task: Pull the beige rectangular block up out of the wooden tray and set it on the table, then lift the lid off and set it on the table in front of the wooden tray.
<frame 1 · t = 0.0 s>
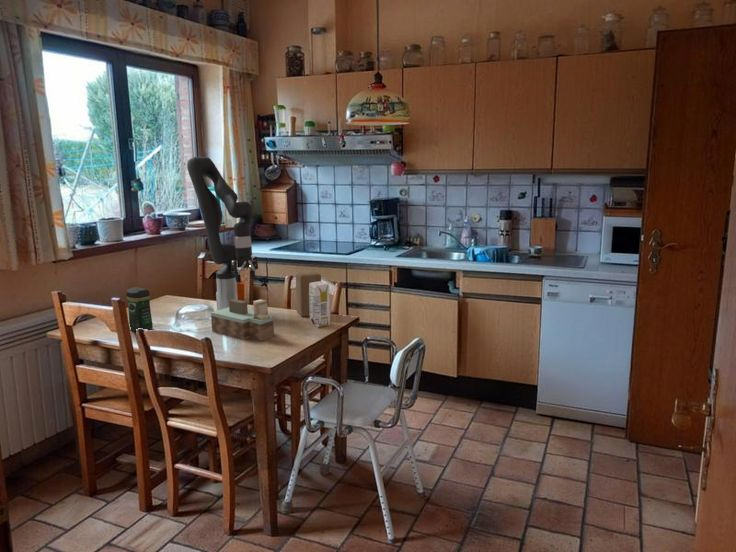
hand: (245, 280, 262), 17 cm above the table, tool pointing down, fingers open, 8 cm apart
lid: (238, 315, 242), point 7 cm above the table, touching wooden tray
coffee jar: (141, 329, 247), on the table
juice carton: (320, 325, 252), on the table
wooden block: (309, 314, 270), on the table
beige rectangular block: (261, 326, 235), point 4 cm above the table, touching wooden tray
wooden tray: (239, 331, 243), on the table
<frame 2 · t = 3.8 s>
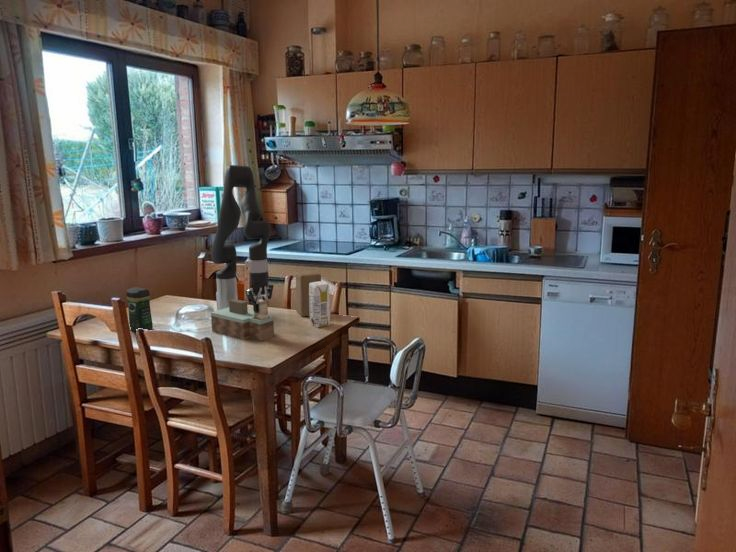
hand: (260, 311, 233), 11 cm above the table, tool pointing down, fingers closed on beige rectangular block, 4 cm apart
beige rectangular block: (261, 326, 235), point 5 cm above the table, touching gripper, wooden tray
everything else where it was.
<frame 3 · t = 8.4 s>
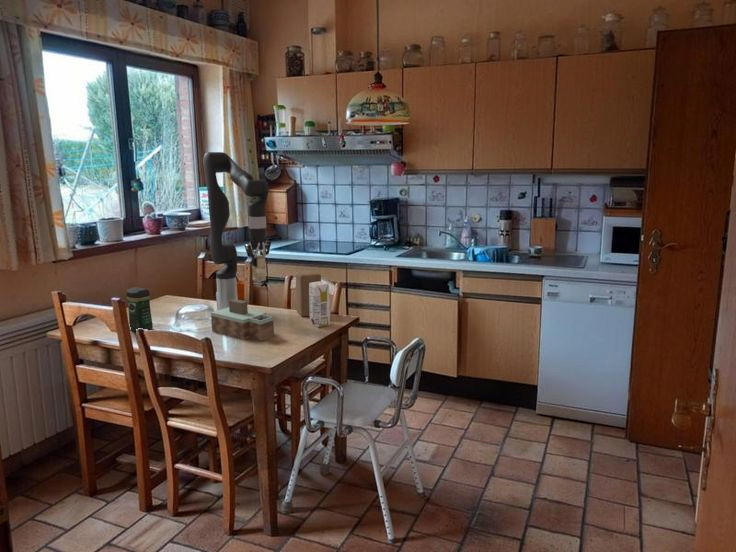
hand: (258, 265, 249), 27 cm above the table, tool pointing down, fingers closed on beige rectangular block, 4 cm apart
beige rectangular block: (259, 280, 251), point 20 cm above the table, touching gripper
everything else where it was.
when the fingers open (7 cm above the table, at t = 12.8 s): beige rectangular block stays where it is, on the table.
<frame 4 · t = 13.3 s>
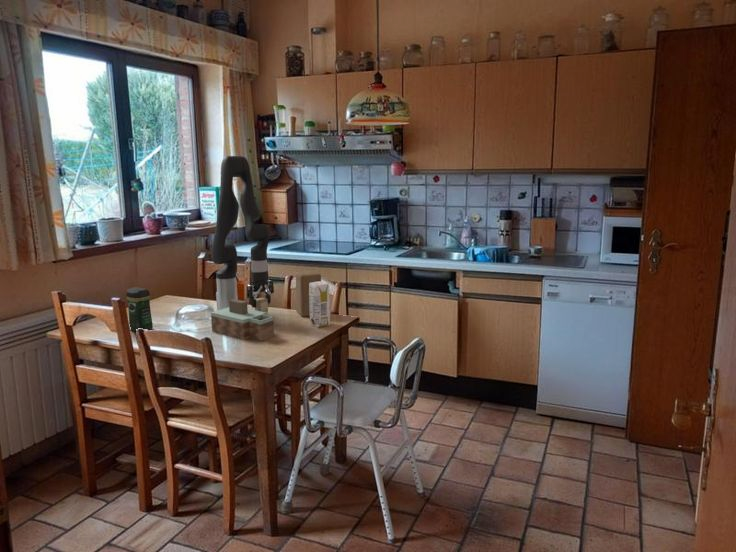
hand: (261, 305, 255), 8 cm above the table, tool pointing down, fingers open, 8 cm apart
beige rectangular block: (262, 322, 256), on the table
everything else where it was.
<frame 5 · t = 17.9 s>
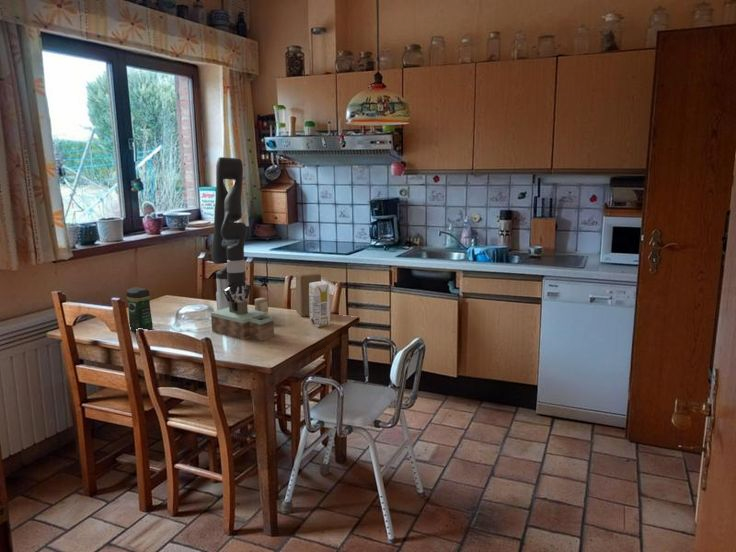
hand: (238, 309, 241), 10 cm above the table, tool pointing down, fingers closed on lid, 3 cm apart
lid: (238, 315, 242), point 7 cm above the table, touching gripper, wooden tray
everything else where it was.
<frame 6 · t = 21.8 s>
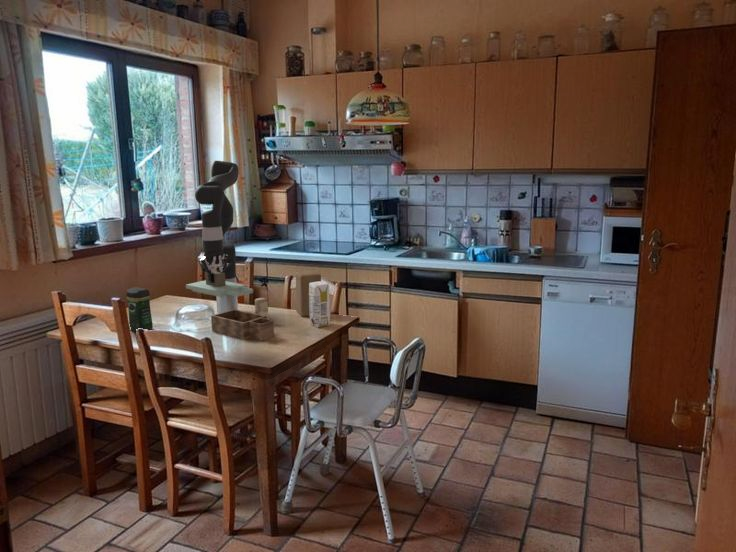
hand: (215, 281, 222), 25 cm above the table, tool pointing down, fingers closed on lid, 3 cm apart
lid: (216, 288, 222), point 23 cm above the table, touching gripper
everything else where it was.
when the fingers open (5 cm above the table, at t = 25.7 s): lid drops 1 cm, point 1 cm above the table.
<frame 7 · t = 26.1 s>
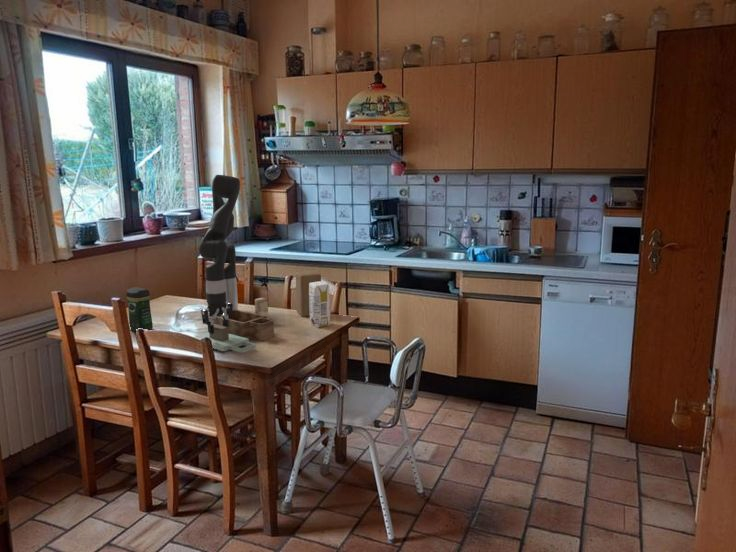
hand: (218, 331, 226), 5 cm above the table, tool pointing down, fingers open, 6 cm apart
lid: (219, 342, 227), point 1 cm above the table
everything else where it was.
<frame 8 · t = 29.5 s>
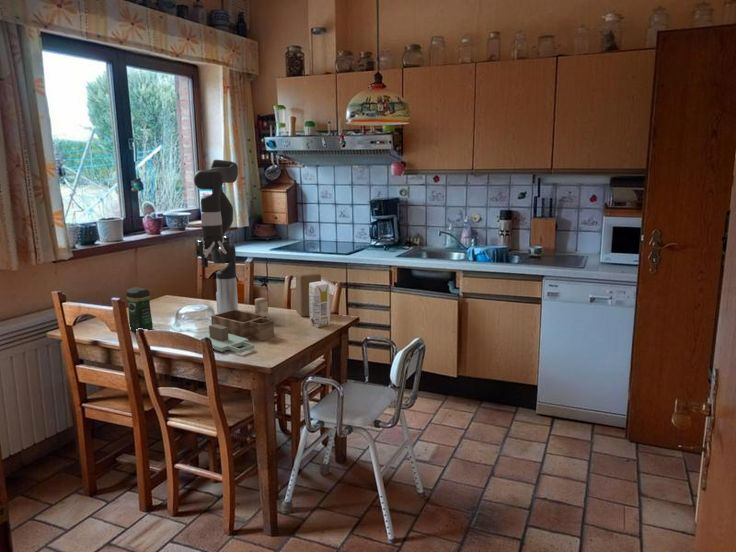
hand: (214, 265, 220), 32 cm above the table, tool pointing down, fingers open, 8 cm apart
nothing on the table moved.
at the end: beige rectangular block inside the target area (0.0 cm from its centre), on the table; lid inside the target area (0.1 cm from its centre), point 0.9 cm above the table; lid tilted 0° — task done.
